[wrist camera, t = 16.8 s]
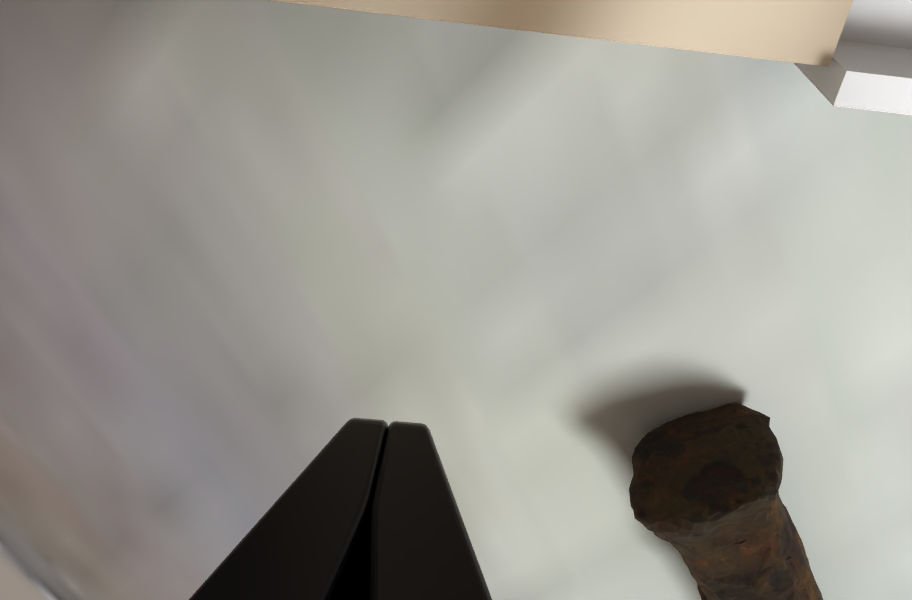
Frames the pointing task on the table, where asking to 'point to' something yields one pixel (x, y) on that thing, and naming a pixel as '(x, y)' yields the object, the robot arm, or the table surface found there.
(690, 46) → the birch board
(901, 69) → the tray
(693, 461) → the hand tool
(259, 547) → the robot arm
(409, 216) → the table surface
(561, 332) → the table surface
